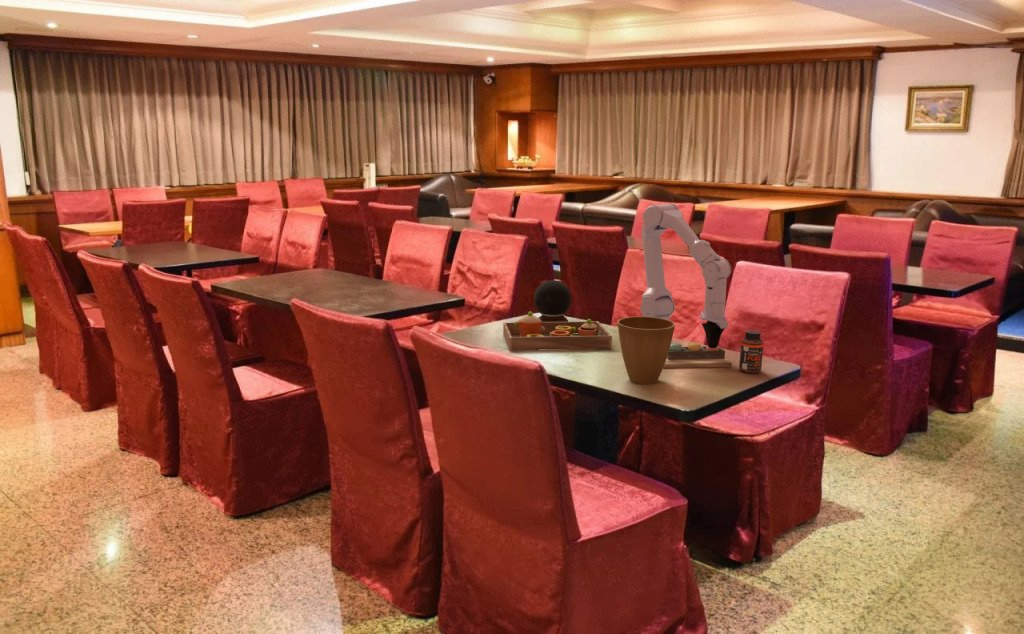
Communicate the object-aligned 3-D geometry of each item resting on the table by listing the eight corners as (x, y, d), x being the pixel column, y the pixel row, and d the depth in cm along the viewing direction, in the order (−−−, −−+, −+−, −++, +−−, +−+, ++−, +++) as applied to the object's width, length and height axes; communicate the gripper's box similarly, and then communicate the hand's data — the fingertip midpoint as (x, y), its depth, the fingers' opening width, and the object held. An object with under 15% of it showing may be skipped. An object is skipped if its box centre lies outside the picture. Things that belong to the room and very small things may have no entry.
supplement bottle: (746, 374, 230) (748, 334, 228) (735, 369, 236) (737, 329, 234) (765, 373, 232) (768, 333, 230) (753, 367, 238) (756, 328, 235)
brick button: (703, 354, 246) (704, 345, 246) (715, 353, 247) (716, 345, 246) (707, 357, 243) (708, 348, 242) (720, 357, 243) (720, 348, 243)
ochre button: (685, 351, 246) (686, 342, 245) (697, 351, 246) (698, 342, 245) (689, 354, 242) (689, 345, 242) (701, 354, 242) (702, 345, 242)
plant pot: (604, 380, 224) (606, 321, 221) (638, 370, 235) (640, 314, 231) (649, 392, 214) (652, 331, 211) (683, 381, 224) (686, 322, 221)
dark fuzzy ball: (533, 318, 302) (534, 277, 299) (570, 319, 301) (571, 277, 298) (533, 326, 289) (533, 283, 286) (571, 327, 288) (572, 283, 285)
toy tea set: (527, 351, 256) (527, 320, 254) (508, 339, 270) (509, 310, 268) (603, 344, 266) (604, 314, 264) (582, 333, 280) (582, 305, 278)
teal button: (667, 351, 245) (667, 343, 245) (679, 351, 245) (679, 343, 245) (670, 354, 242) (671, 346, 241) (683, 354, 242) (683, 346, 241)
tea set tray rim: (503, 334, 276) (503, 322, 276) (597, 332, 279) (598, 321, 279) (509, 350, 255) (509, 337, 255) (611, 348, 258) (611, 336, 258)
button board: (650, 355, 250) (650, 343, 250) (715, 354, 252) (716, 342, 251) (662, 368, 237) (663, 355, 236) (731, 366, 239) (732, 354, 238)
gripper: (692, 297, 248) (689, 342, 250) (712, 306, 234) (709, 354, 237) (714, 296, 249) (712, 341, 252) (736, 306, 235) (733, 353, 238)
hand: (712, 347), depth 244 cm, fingers closed, pressing on brick button
